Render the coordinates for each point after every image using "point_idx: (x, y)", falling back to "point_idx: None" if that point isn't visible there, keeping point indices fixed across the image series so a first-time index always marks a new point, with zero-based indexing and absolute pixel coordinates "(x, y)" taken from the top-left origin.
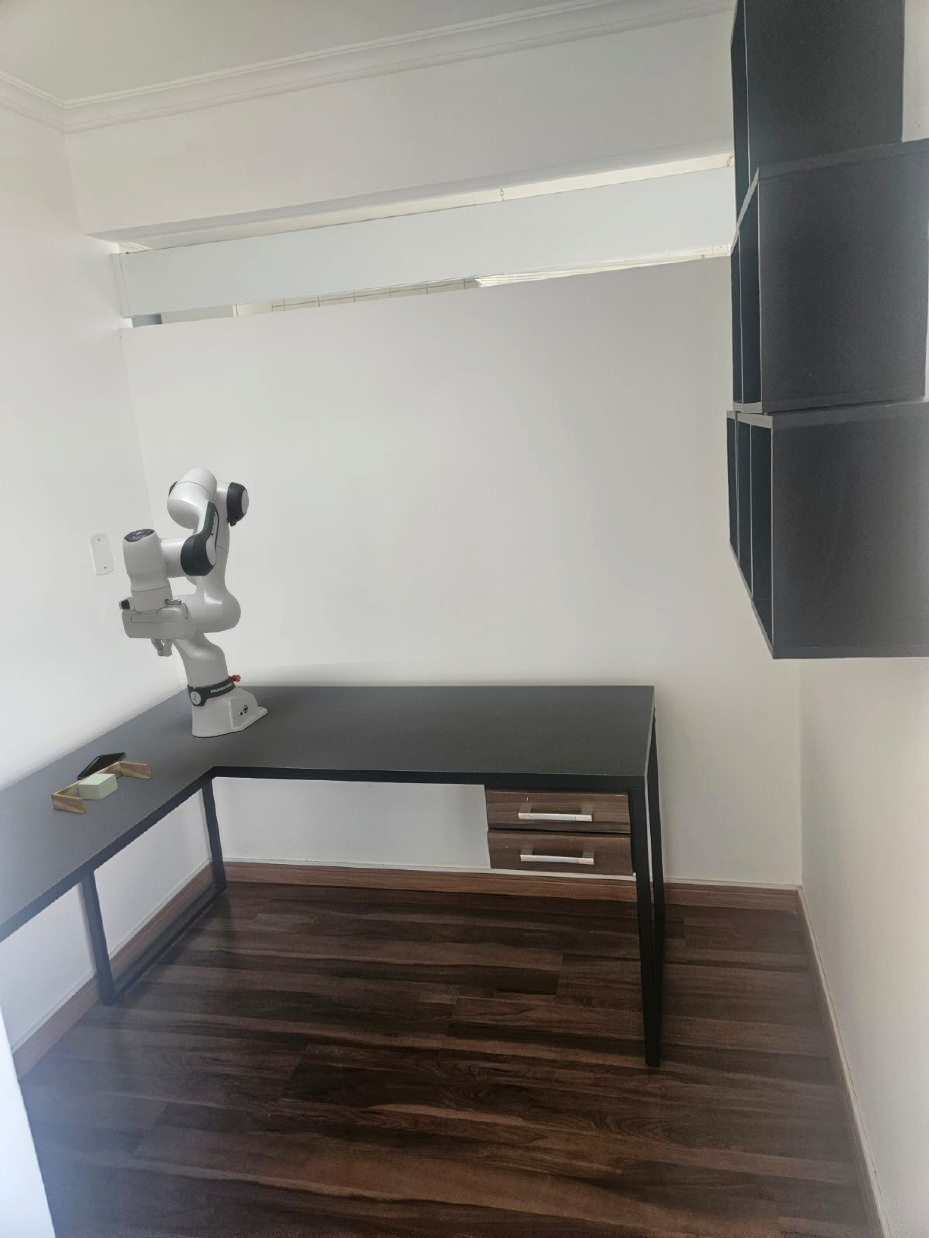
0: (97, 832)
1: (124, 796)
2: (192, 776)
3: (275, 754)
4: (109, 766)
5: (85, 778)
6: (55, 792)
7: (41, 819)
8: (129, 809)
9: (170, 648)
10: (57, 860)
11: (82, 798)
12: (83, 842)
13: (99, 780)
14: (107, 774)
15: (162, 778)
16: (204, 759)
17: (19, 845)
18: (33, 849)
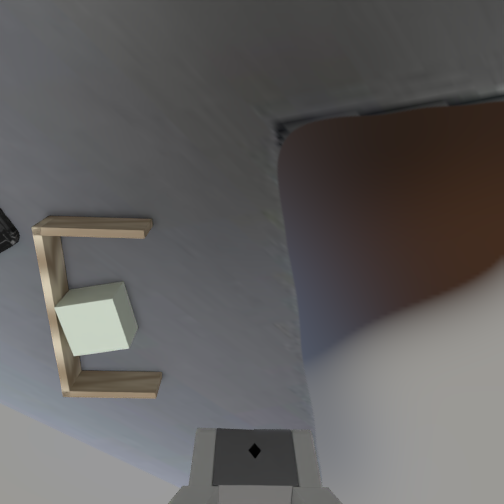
0: (260, 416)
1: (179, 307)
2: (261, 191)
3: (419, 5)
4: (41, 261)
5: (54, 325)
6: (61, 387)
7: (99, 407)
8: (245, 346)
9: (318, 485)
10: None
11: (155, 392)
12: None
13: (109, 332)
14: (95, 304)
15: (188, 217)
16: (207, 86)
17: (160, 468)
18: None
